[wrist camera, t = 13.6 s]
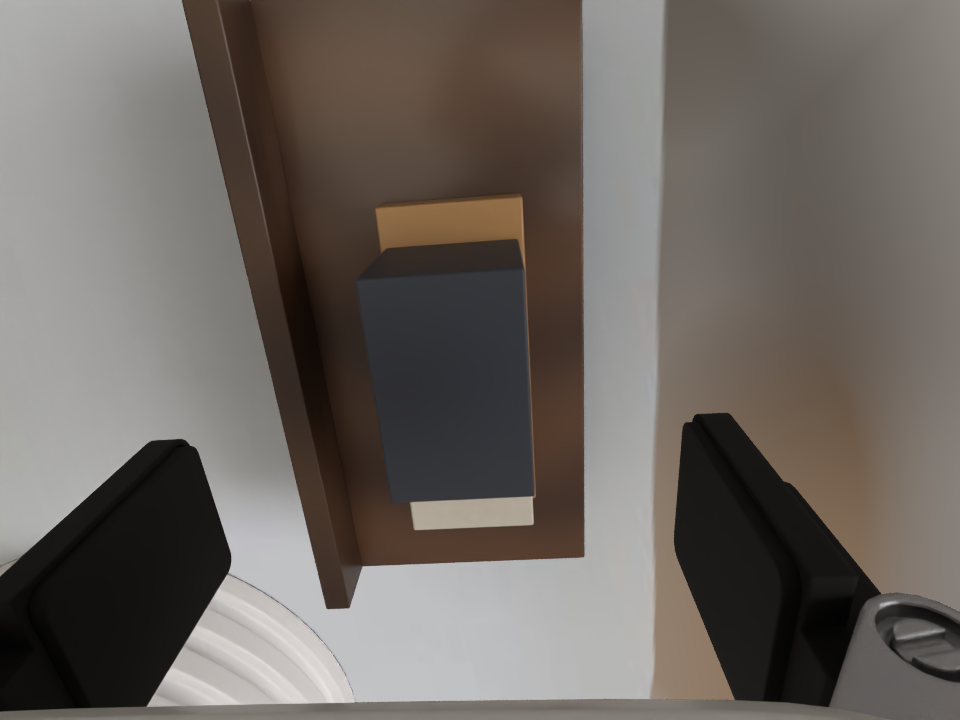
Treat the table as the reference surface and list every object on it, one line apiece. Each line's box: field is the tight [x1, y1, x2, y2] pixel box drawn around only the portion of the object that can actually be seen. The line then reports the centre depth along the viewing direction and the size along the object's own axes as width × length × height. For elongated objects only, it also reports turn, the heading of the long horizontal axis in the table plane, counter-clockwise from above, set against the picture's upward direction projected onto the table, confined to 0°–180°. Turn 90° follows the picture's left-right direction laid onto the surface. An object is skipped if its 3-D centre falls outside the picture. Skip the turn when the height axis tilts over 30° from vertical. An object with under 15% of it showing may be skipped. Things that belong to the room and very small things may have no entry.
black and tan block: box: [355, 193, 536, 530], centre depth 18 cm, size 12×5×6 cm, turn 4°
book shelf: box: [182, 0, 584, 609], centre depth 22 cm, size 22×11×8 cm, turn 4°
